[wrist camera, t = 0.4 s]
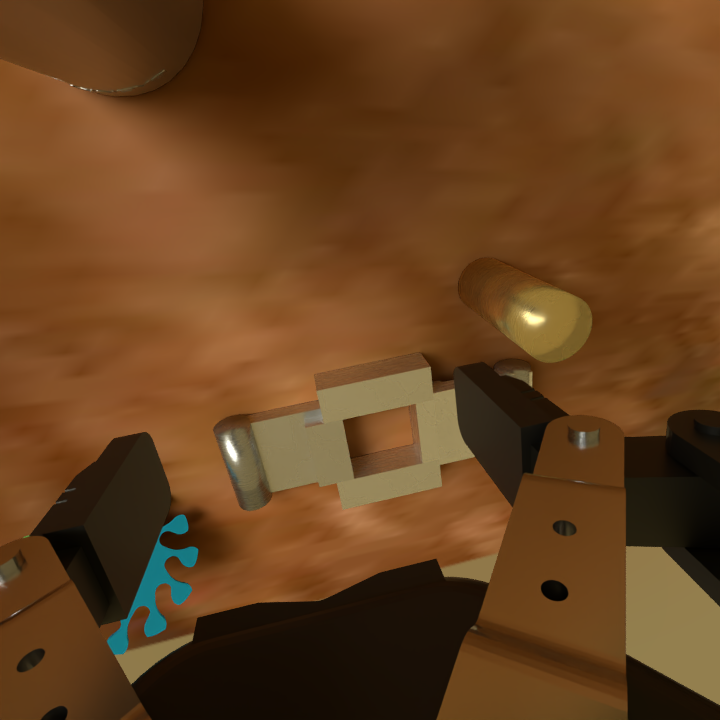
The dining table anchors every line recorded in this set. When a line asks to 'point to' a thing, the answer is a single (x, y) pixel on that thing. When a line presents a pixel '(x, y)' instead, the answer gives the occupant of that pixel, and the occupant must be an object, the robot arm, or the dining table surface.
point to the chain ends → (328, 440)
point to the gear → (152, 580)
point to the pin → (526, 309)
